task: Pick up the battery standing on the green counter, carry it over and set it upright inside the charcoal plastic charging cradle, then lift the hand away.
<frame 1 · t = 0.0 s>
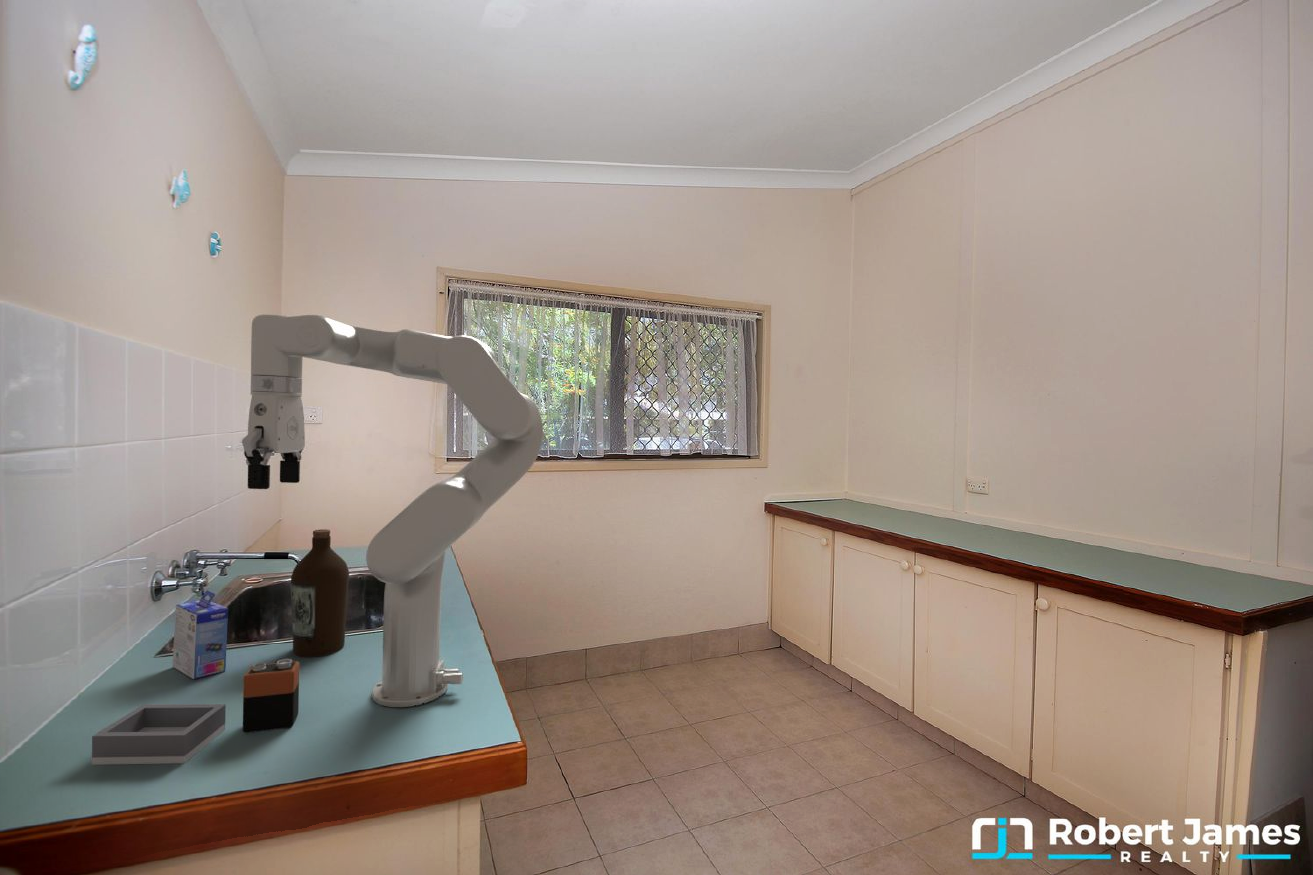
hand: (274, 485, 103), 37 cm above the counter, tool pointing down, fingers open, 9 cm apart
ink cartridge box: (200, 670, 112), on the counter
charging cradle: (162, 745, 87), on the counter
olive oil: (318, 649, 124), on the counter
battery: (271, 725, 94), on the counter
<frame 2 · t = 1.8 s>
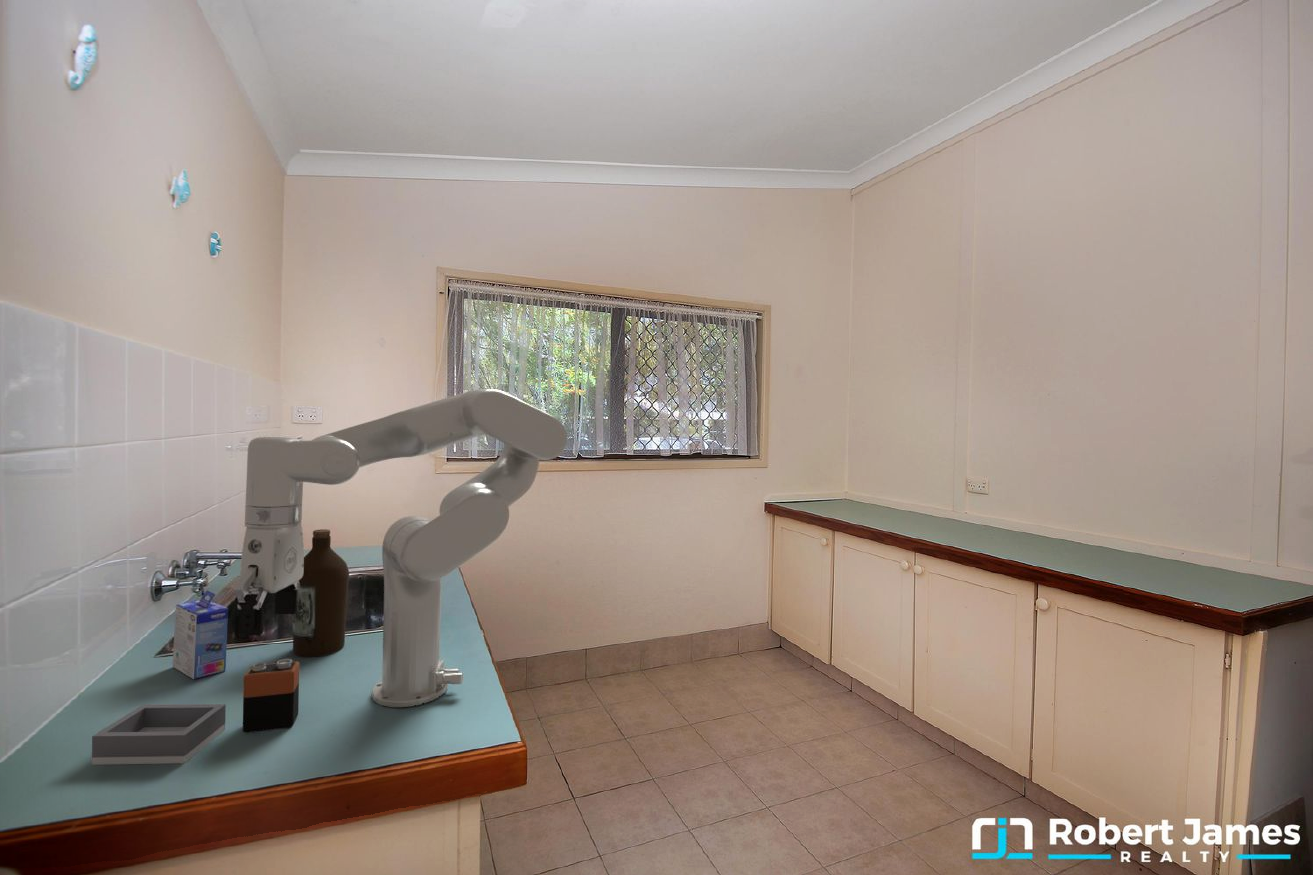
hand: (269, 623, 93), 16 cm above the counter, tool pointing down, fingers open, 9 cm apart
nothing on the counter moved.
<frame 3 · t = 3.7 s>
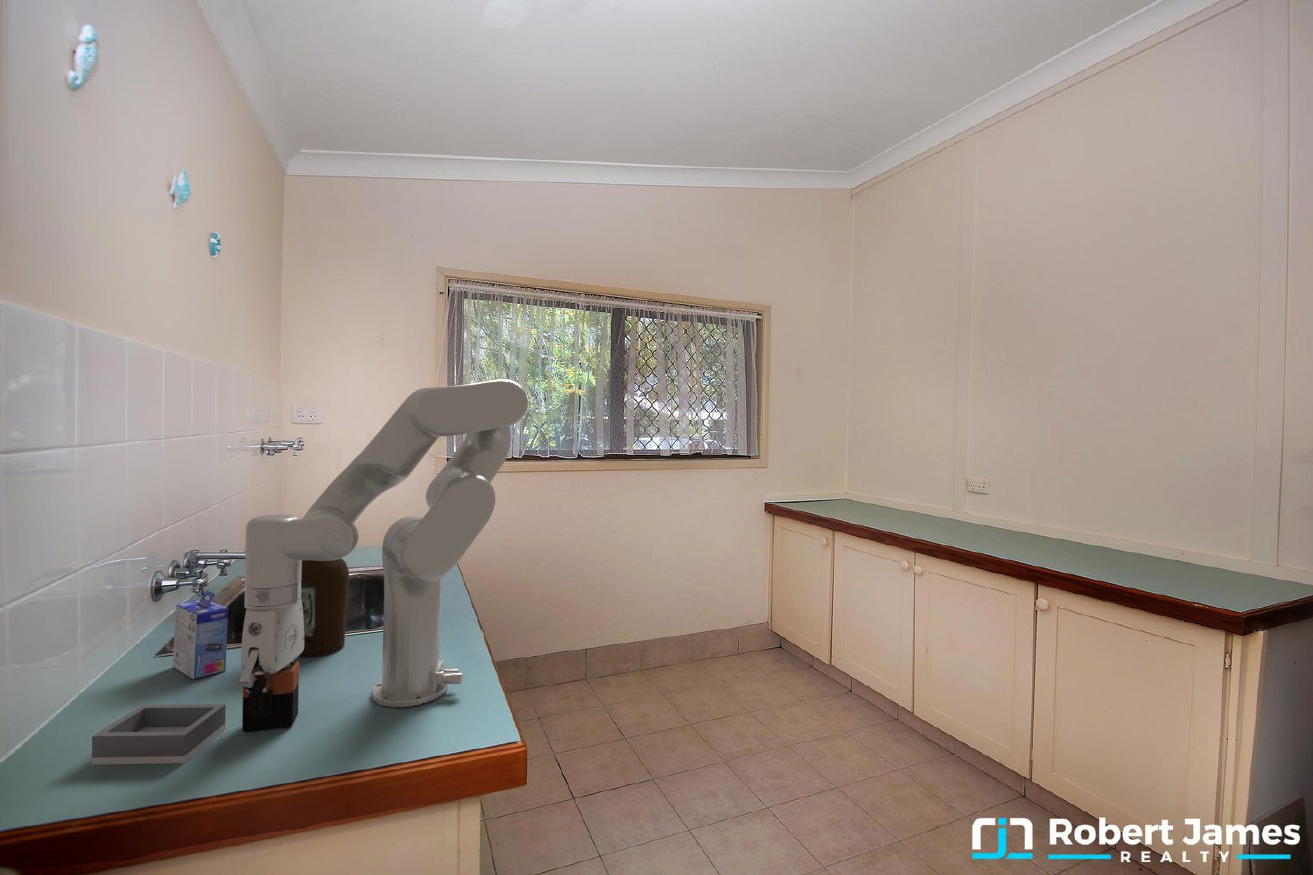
hand: (271, 705, 94), 3 cm above the counter, tool pointing down, fingers closed on battery, 5 cm apart
battery: (270, 725, 94), on the counter, touching gripper
everything else where it was.
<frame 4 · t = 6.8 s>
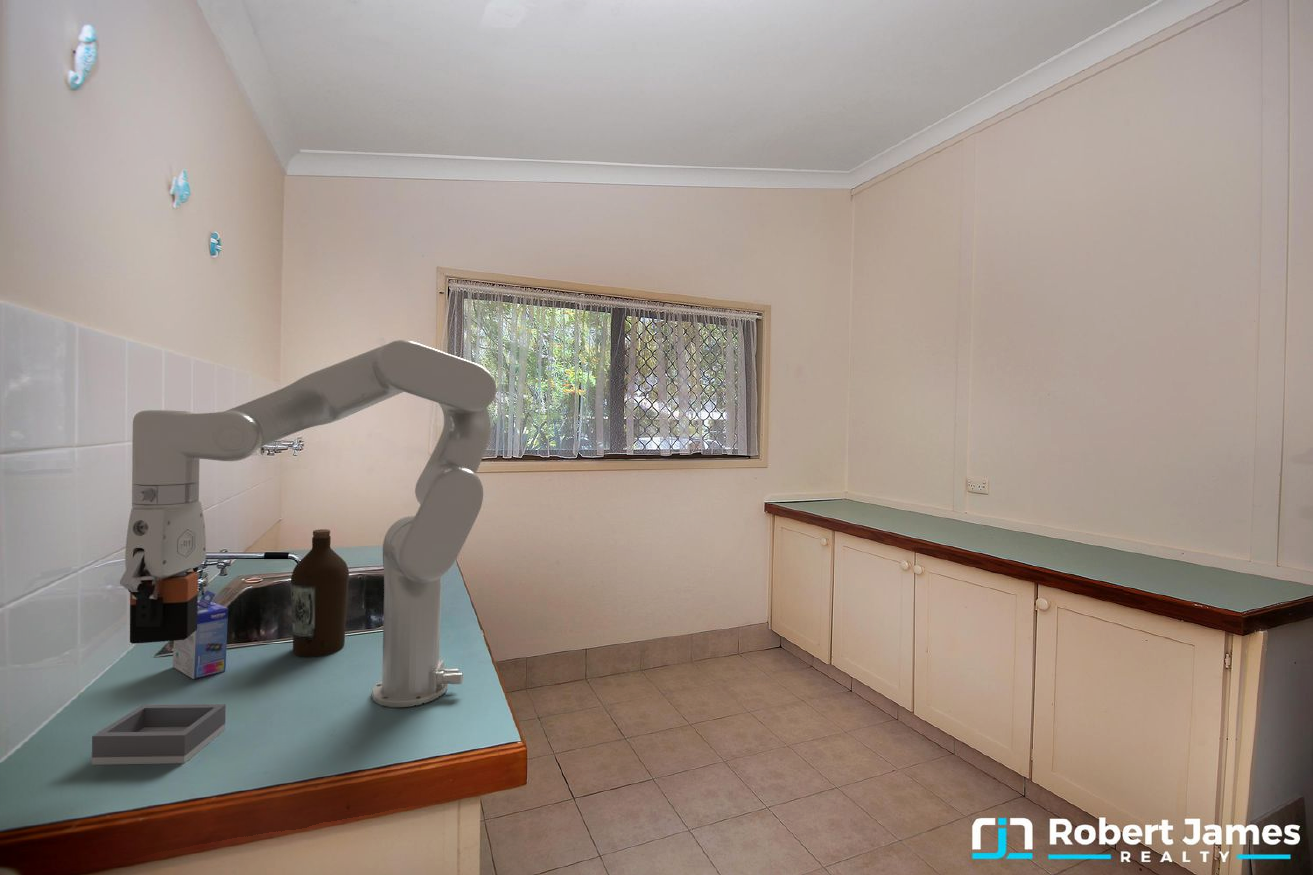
hand: (165, 617, 86), 19 cm above the counter, tool pointing down, fingers closed on battery, 5 cm apart
battery: (164, 638, 86), point 16 cm above the counter, touching gripper
everything else where it was.
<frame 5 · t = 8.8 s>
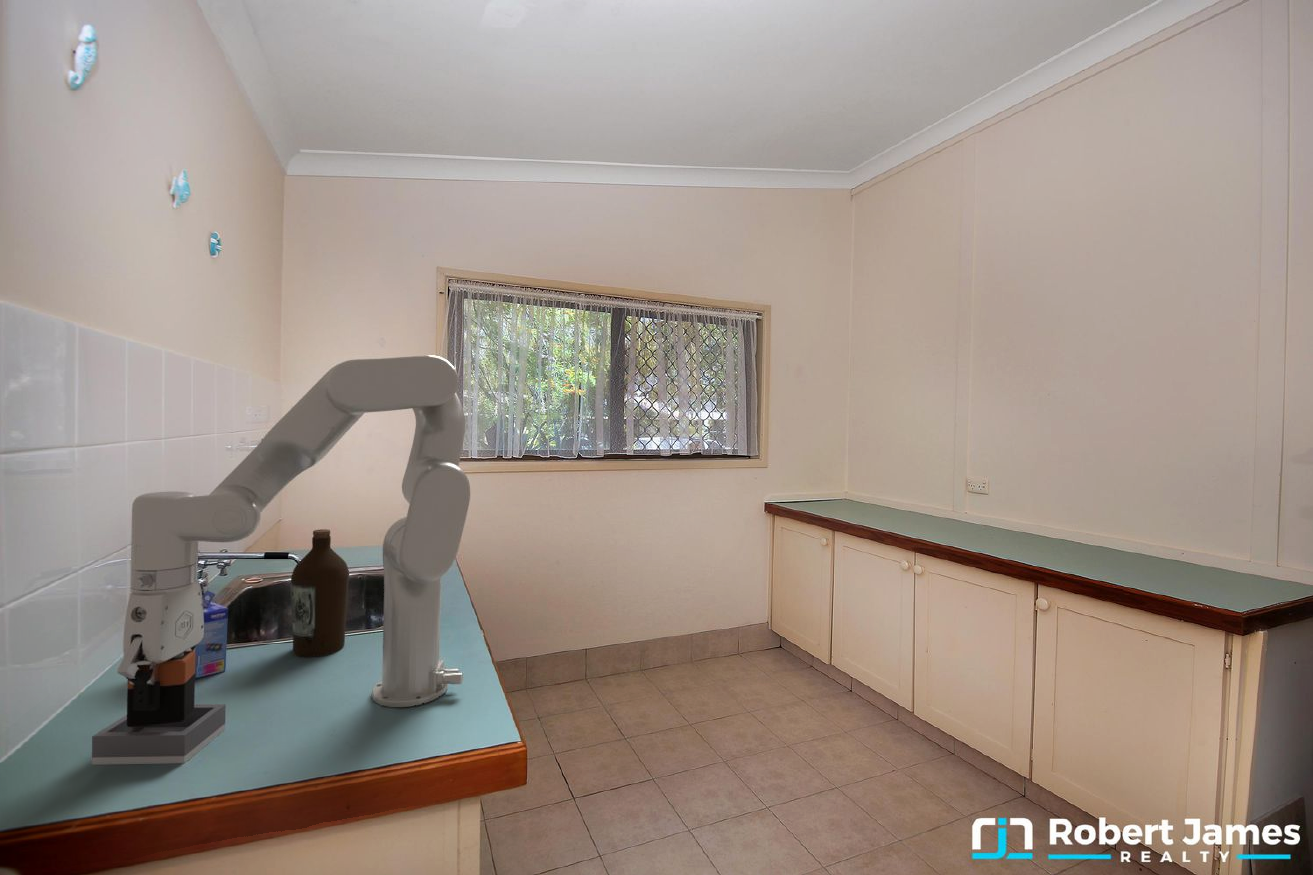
hand: (162, 698, 86), 7 cm above the counter, tool pointing down, fingers closed on battery, 5 cm apart
battery: (161, 719, 87), point 4 cm above the counter, touching gripper
everything else where it was.
when the fingers open (5 cm above the counter, at t = 10.1 s): battery stays where it is, resting on charging cradle.
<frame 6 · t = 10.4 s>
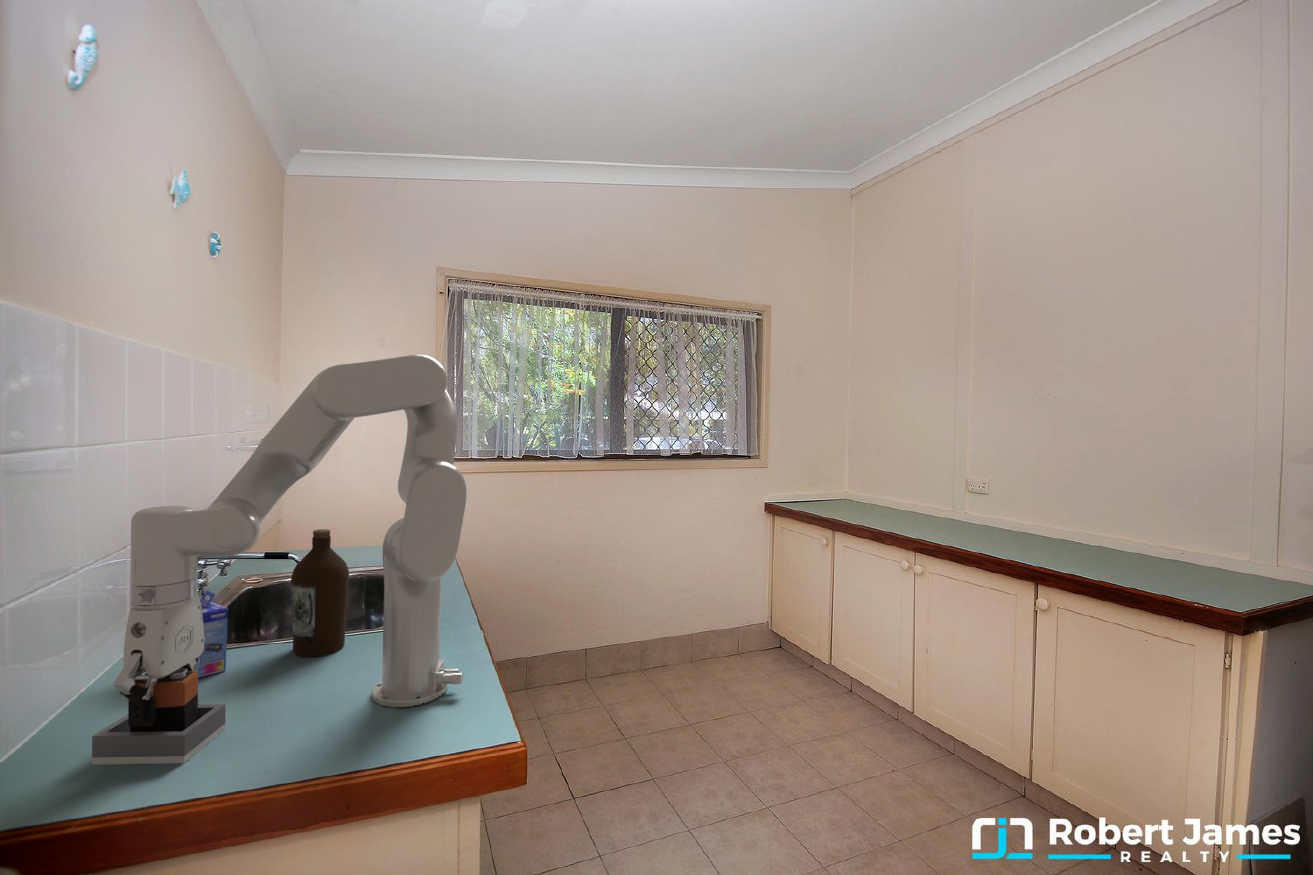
hand: (163, 710, 87), 5 cm above the counter, tool pointing down, fingers open, 7 cm apart
battery: (164, 739, 87), point 1 cm above the counter, touching charging cradle
everything else where it was.
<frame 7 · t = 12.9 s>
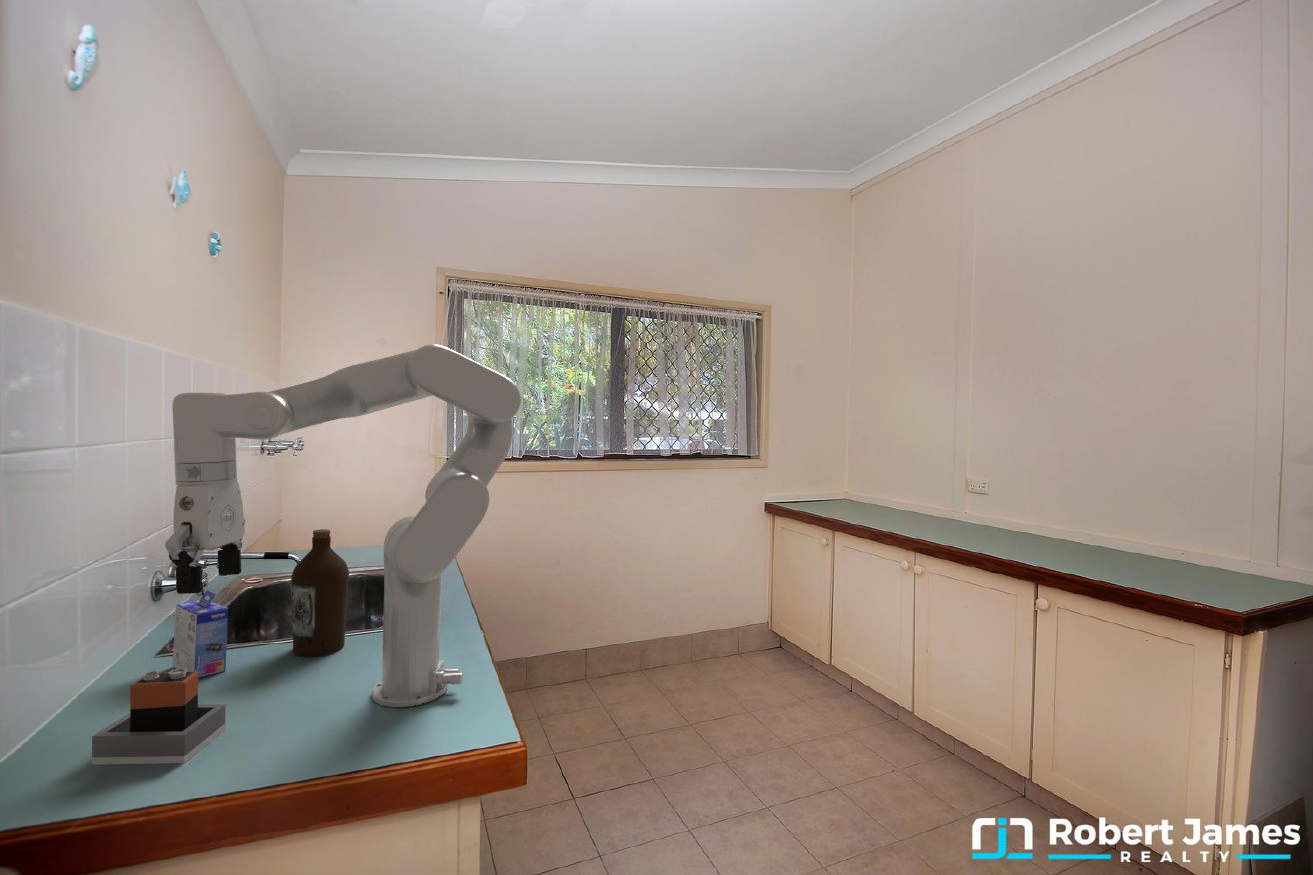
hand: (211, 583, 91), 23 cm above the counter, tool pointing down, fingers open, 9 cm apart
nothing on the counter moved.
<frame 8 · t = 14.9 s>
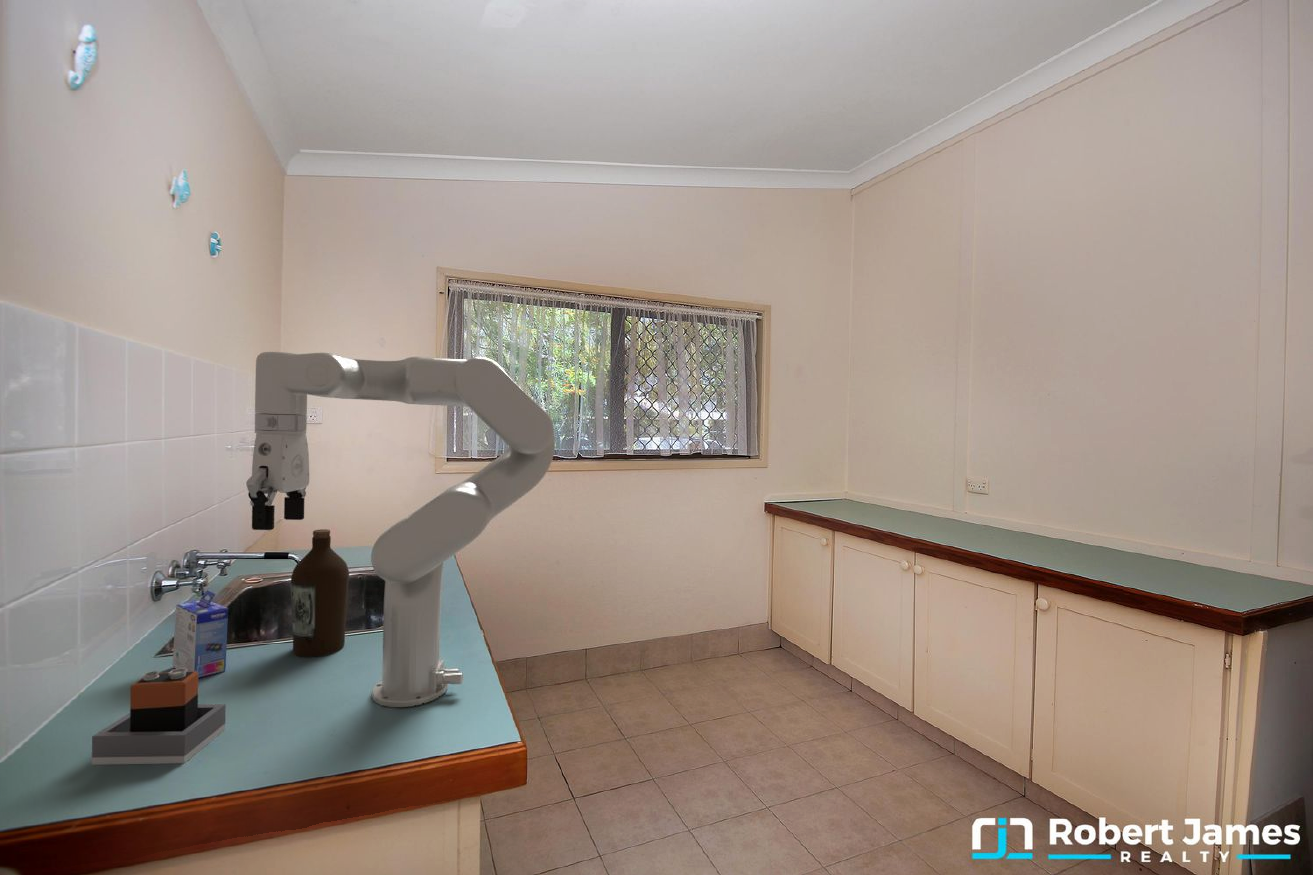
hand: (279, 524, 102), 30 cm above the counter, tool pointing down, fingers open, 9 cm apart
nothing on the counter moved.
at the end: battery 0.2 cm off-centre on the charging cradle, point 0.8 cm above the charging cradle's base; battery tilted 0°; the gripper is holding nothing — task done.
